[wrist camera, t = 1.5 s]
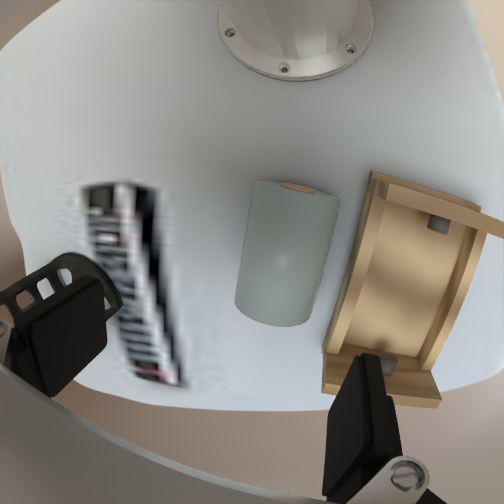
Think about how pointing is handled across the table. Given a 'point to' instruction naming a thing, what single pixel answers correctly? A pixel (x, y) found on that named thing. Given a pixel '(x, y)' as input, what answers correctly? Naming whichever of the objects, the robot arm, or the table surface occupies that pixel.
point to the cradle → (404, 286)
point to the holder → (58, 283)
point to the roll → (284, 252)
